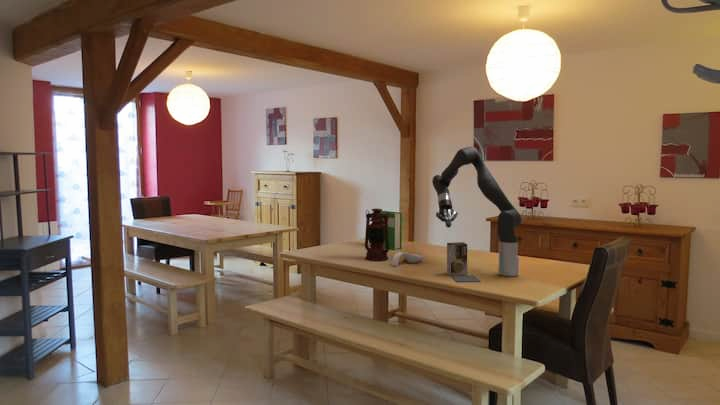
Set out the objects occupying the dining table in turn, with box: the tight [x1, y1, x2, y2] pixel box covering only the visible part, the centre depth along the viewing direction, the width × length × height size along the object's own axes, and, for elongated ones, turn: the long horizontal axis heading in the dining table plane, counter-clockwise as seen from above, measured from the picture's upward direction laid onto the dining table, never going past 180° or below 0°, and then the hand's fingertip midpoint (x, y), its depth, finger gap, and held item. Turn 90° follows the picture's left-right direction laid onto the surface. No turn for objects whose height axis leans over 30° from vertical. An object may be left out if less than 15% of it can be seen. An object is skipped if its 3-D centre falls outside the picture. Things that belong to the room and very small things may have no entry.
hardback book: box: [380, 210, 403, 251], centre depth 332 cm, size 18×7×24 cm, turn 44°
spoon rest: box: [390, 251, 425, 267], centre depth 285 cm, size 24×12×7 cm, turn 138°
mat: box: [450, 274, 482, 283], centre depth 248 cm, size 12×12×1 cm
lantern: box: [364, 208, 390, 262], centre depth 295 cm, size 17×14×30 cm
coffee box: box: [446, 241, 468, 276], centre depth 258 cm, size 9×6×16 cm
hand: (448, 226), depth 277 cm, fingers closed
